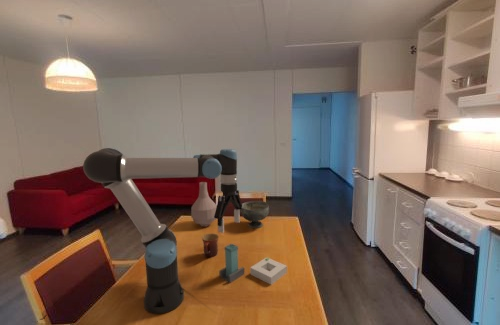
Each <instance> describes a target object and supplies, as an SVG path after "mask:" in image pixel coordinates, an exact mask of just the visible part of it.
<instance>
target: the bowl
mask: <svg viewBox="0 0 500 325" xmlns="http://www.w3.org/2000/svg"><path fill="white" fill-rule="evenodd" d="M269 207H270V206H269V203H268V202H266V201H263V200H251V201H246V202H244V203H242V209H240V214H241V216H242V218H244V219H245V220H246V221H248V224H247V226H248V227H249V228H252V229H259V228H262V227H263V226H264V224H263V222H261V221H263V220H265V219H266V218H267V217H268V215H269V213H270V212H269V211H270V208H269Z"/></svg>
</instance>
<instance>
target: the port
mask: <svg viewBox="0 0 500 325" xmlns="http://www.w3.org/2000/svg"><path fill="white" fill-rule="evenodd" d="M249 270H250V273H249V274H250V276H252V277H255V278H257V279H259V280H261V281H263V282H265V283H267V284H269V285H274V284H275V283H276V282H277V281H278V280H279V279H281V278H282V277H284V276H285V275H286V274H287V273H288V265H286V264H284V263H281V262H279V261H276V260H274V259H272V258H270V257H265V258H263V259H262V260H260V261H258V262H257V263H255V264H253V265H252V266H250V268H249Z"/></svg>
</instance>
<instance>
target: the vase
mask: <svg viewBox="0 0 500 325" xmlns="http://www.w3.org/2000/svg"><path fill="white" fill-rule="evenodd" d="M198 184H199V191H198V197H197V199H196V200H195V202H193V204H192V205H191V210H190V211H191V212H190V213H191V215H190V216H191V219H192V220H193V222H194V223H195V224H198V225H200V226H201V227H208V226H210V224H212V223H213V222H215V221H216V220H217V219H216V218H214V215H215V211H216V208H217V204H216V203H215V202H214V201H213V200H212V198H211V197H210V196H209V195H210V194H209V192H208V182H206V181H201V182H199V183H198Z"/></svg>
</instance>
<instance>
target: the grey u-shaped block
mask: <svg viewBox="0 0 500 325" xmlns="http://www.w3.org/2000/svg"><path fill="white" fill-rule="evenodd" d="M218 272H219V278H221V279H223V280H224V281H226V282H227V283H229V284H231V283H233V282H235V281H236V280H238V279H239V278H241V277H242V276H244V275H245V267H244V266H242V267H240V268H238V270H237V271H235V272H233V273H232V274H230V275H229V276H226V266H225V267H223V268H221V269H220V270H219V271H218Z"/></svg>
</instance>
